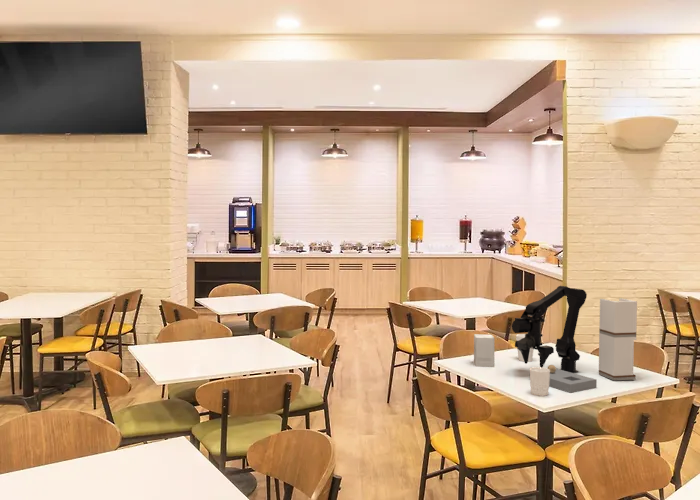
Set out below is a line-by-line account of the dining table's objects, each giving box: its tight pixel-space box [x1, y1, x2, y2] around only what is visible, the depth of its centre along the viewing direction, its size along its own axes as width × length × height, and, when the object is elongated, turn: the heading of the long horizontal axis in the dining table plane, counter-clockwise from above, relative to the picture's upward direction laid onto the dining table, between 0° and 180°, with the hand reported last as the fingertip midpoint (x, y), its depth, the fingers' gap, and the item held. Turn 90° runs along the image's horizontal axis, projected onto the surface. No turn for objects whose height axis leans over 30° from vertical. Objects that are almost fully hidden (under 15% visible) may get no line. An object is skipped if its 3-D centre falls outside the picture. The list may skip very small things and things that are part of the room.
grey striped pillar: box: [598, 297, 638, 381], centre depth 260 cm, size 11×11×35 cm
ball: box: [547, 364, 557, 373], centre depth 254 cm, size 4×4×4 cm
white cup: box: [529, 366, 550, 397], centre depth 234 cm, size 8×8×10 cm
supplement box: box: [473, 333, 495, 368], centre depth 280 cm, size 9×9×15 cm
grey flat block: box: [549, 368, 598, 394], centre depth 248 cm, size 16×22×4 cm
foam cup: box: [515, 333, 535, 363], centre depth 291 cm, size 10×9×13 cm
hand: (533, 365), depth 263 cm, fingers open, 9 cm apart
